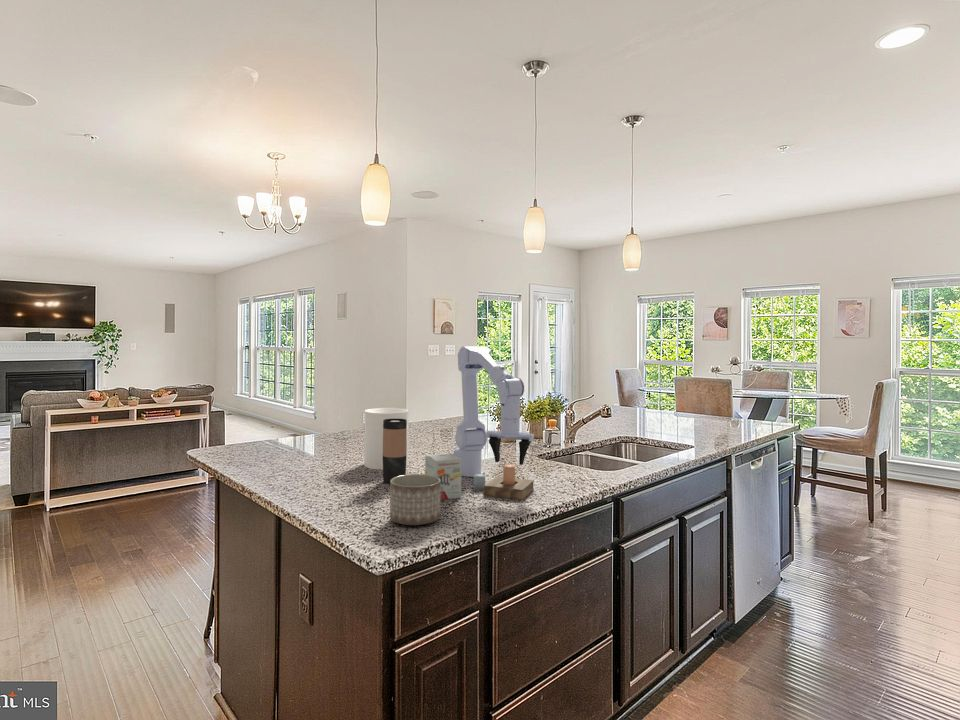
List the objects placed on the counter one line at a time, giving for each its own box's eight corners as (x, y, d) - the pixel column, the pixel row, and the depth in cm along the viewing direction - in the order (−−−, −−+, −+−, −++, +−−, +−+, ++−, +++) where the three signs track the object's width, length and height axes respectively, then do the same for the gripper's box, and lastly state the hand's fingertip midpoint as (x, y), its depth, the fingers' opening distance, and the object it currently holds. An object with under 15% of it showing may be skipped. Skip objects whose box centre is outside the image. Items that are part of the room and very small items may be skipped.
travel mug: (410, 480, 176) (411, 419, 175) (397, 485, 169) (398, 422, 168) (391, 477, 179) (391, 417, 178) (377, 482, 172) (378, 420, 171)
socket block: (483, 495, 160) (483, 485, 159) (496, 485, 171) (496, 476, 171) (522, 500, 155) (522, 489, 155) (533, 489, 166) (533, 480, 166)
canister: (414, 461, 204) (414, 408, 203) (398, 471, 188) (399, 414, 188) (375, 458, 207) (375, 407, 207) (356, 467, 192) (356, 412, 191)
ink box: (434, 501, 153) (435, 460, 153) (423, 493, 161) (424, 454, 160) (462, 497, 157) (462, 457, 157) (450, 490, 165) (450, 452, 164)
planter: (388, 514, 141) (388, 475, 141) (436, 511, 144) (436, 473, 144) (391, 530, 129) (392, 487, 128) (443, 527, 132) (444, 485, 131)
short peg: (471, 489, 167) (472, 476, 166) (476, 486, 170) (476, 473, 170) (482, 490, 165) (482, 477, 165) (486, 487, 169) (487, 474, 168)
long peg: (501, 493, 162) (501, 467, 162) (504, 490, 165) (505, 464, 165) (513, 494, 161) (513, 468, 161) (516, 491, 164) (516, 465, 164)
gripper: (483, 418, 161) (482, 463, 162) (529, 421, 156) (528, 468, 156) (491, 415, 168) (490, 458, 168) (536, 418, 163) (535, 463, 163)
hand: (509, 462), depth 163 cm, fingers open, 7 cm apart
